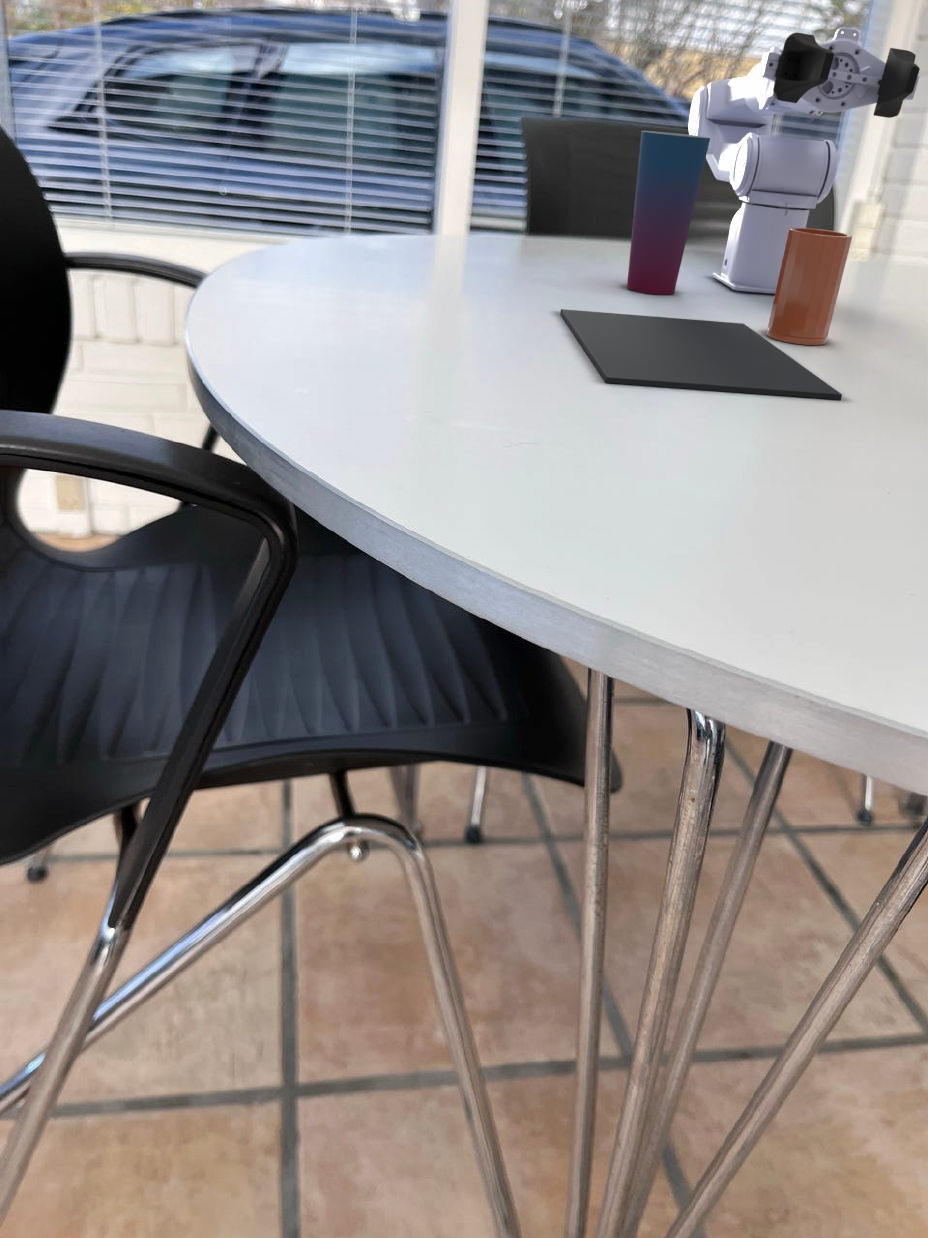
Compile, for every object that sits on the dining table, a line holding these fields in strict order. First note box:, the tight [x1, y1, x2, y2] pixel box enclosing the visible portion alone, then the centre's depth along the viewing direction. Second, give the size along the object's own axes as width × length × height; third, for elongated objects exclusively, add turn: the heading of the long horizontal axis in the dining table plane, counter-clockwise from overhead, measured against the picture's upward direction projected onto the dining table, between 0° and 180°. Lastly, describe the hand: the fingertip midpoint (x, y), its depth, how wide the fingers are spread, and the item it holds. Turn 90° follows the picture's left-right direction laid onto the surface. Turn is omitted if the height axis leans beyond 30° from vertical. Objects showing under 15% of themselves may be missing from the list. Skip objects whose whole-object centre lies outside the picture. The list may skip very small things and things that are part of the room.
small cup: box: [766, 227, 853, 346], centre depth 89 cm, size 5×5×9 cm
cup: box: [626, 130, 710, 296], centre depth 105 cm, size 7×7×15 cm
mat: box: [559, 308, 843, 401], centre depth 82 cm, size 24×17×1 cm
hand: (870, 72), depth 89 cm, fingers open, 7 cm apart
